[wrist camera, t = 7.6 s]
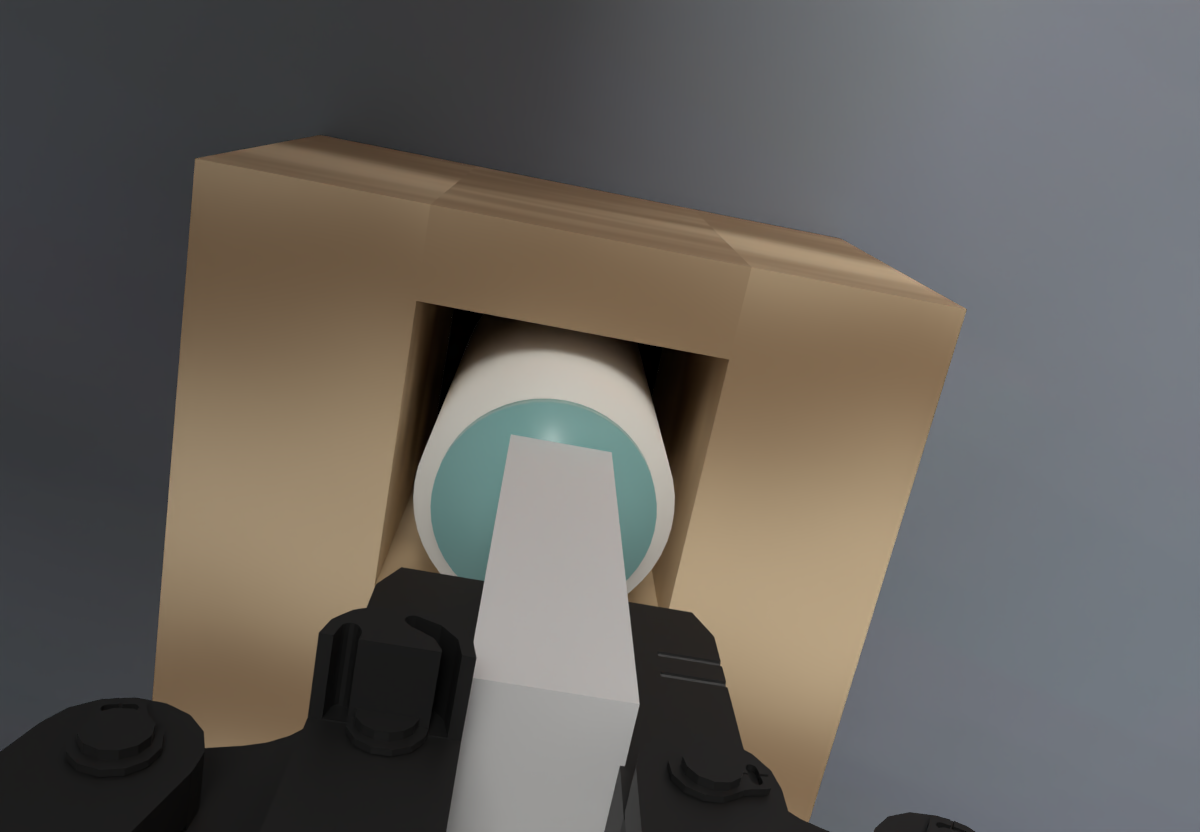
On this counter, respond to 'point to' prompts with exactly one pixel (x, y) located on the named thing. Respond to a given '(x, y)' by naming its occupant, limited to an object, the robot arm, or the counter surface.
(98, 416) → the counter surface
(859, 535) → the oak socket block
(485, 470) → the cream peg
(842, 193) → the counter surface
